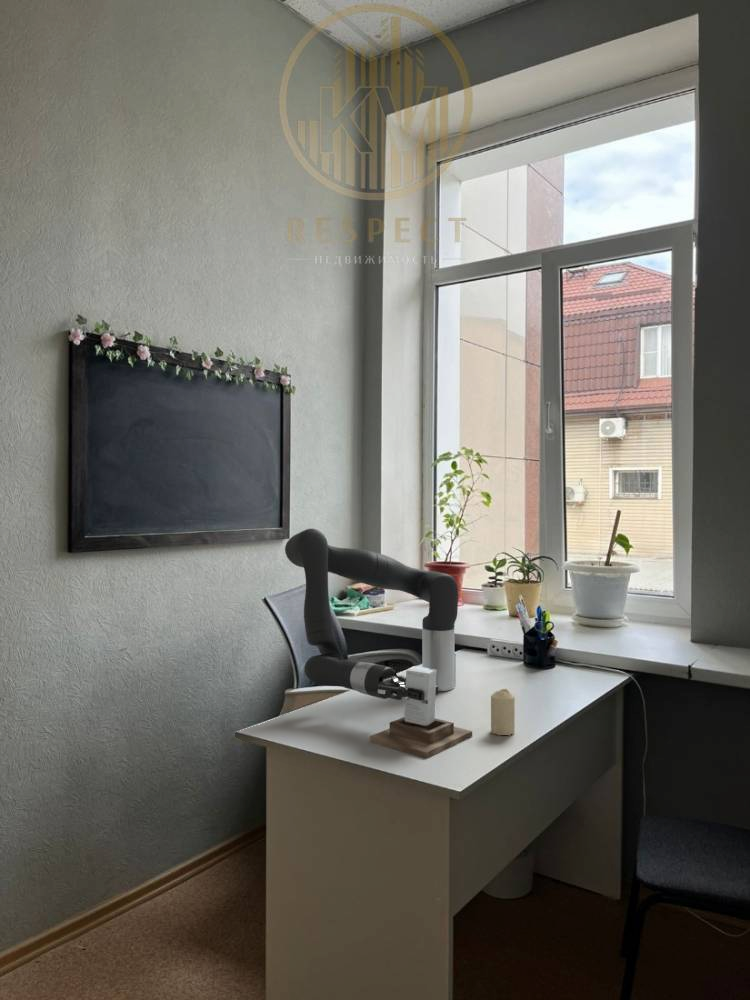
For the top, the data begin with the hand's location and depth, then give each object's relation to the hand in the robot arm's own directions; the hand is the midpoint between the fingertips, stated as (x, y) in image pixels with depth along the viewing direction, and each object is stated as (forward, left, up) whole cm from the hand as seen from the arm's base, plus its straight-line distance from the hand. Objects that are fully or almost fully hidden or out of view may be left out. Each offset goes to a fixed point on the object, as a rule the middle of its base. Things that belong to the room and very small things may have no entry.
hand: (430, 693), depth 168 cm
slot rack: (0, -3, -11) cm, 11 cm away
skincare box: (0, -3, -7) cm, 8 cm away
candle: (-16, +9, -11) cm, 22 cm away
